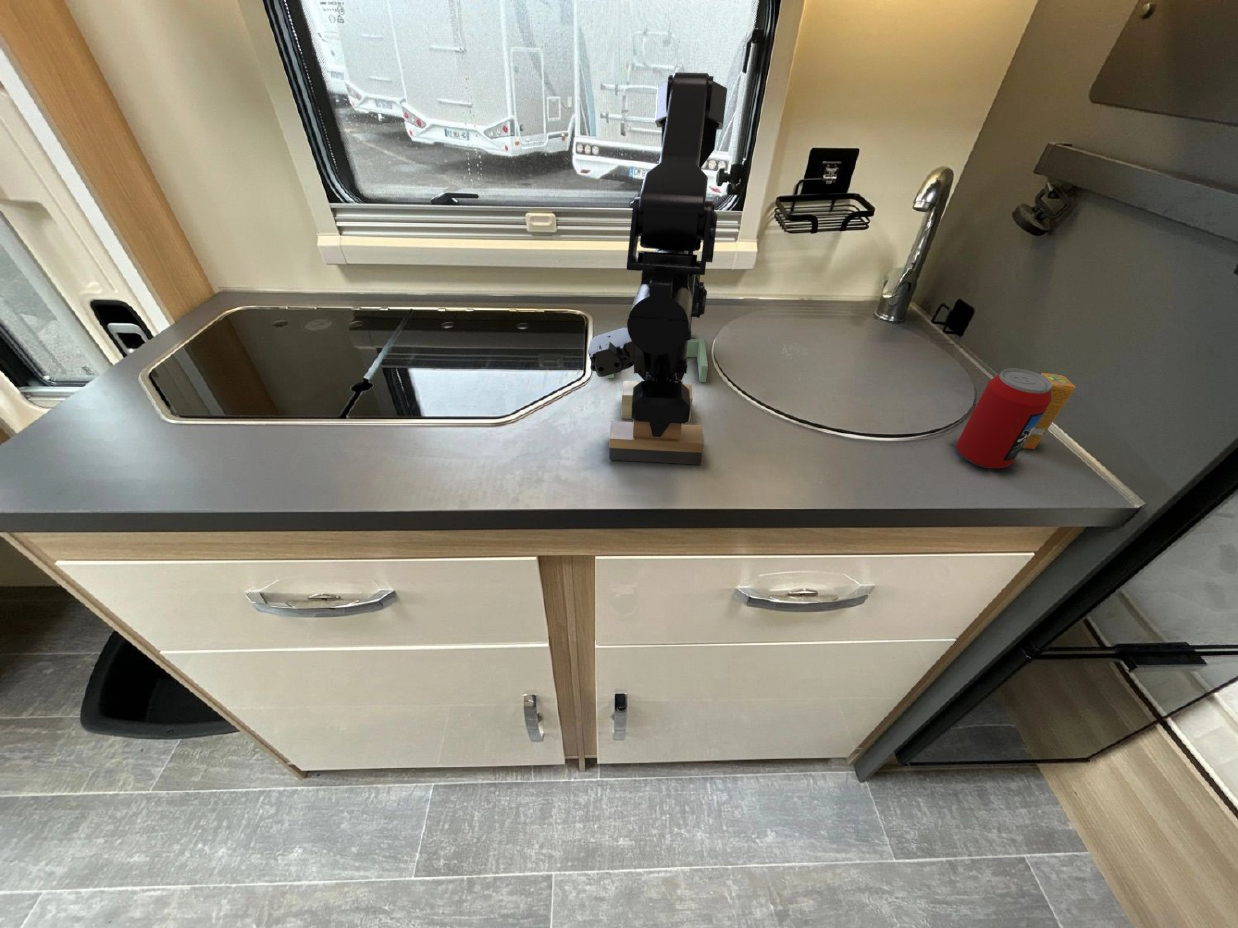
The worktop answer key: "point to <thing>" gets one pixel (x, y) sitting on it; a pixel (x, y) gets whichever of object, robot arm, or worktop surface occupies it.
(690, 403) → the block
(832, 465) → the worktop surface
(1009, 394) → the beverage can
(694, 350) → the corral
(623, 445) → the brush
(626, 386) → the block
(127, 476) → the worktop surface
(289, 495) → the worktop surface
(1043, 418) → the supplement box
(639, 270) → the robot arm
